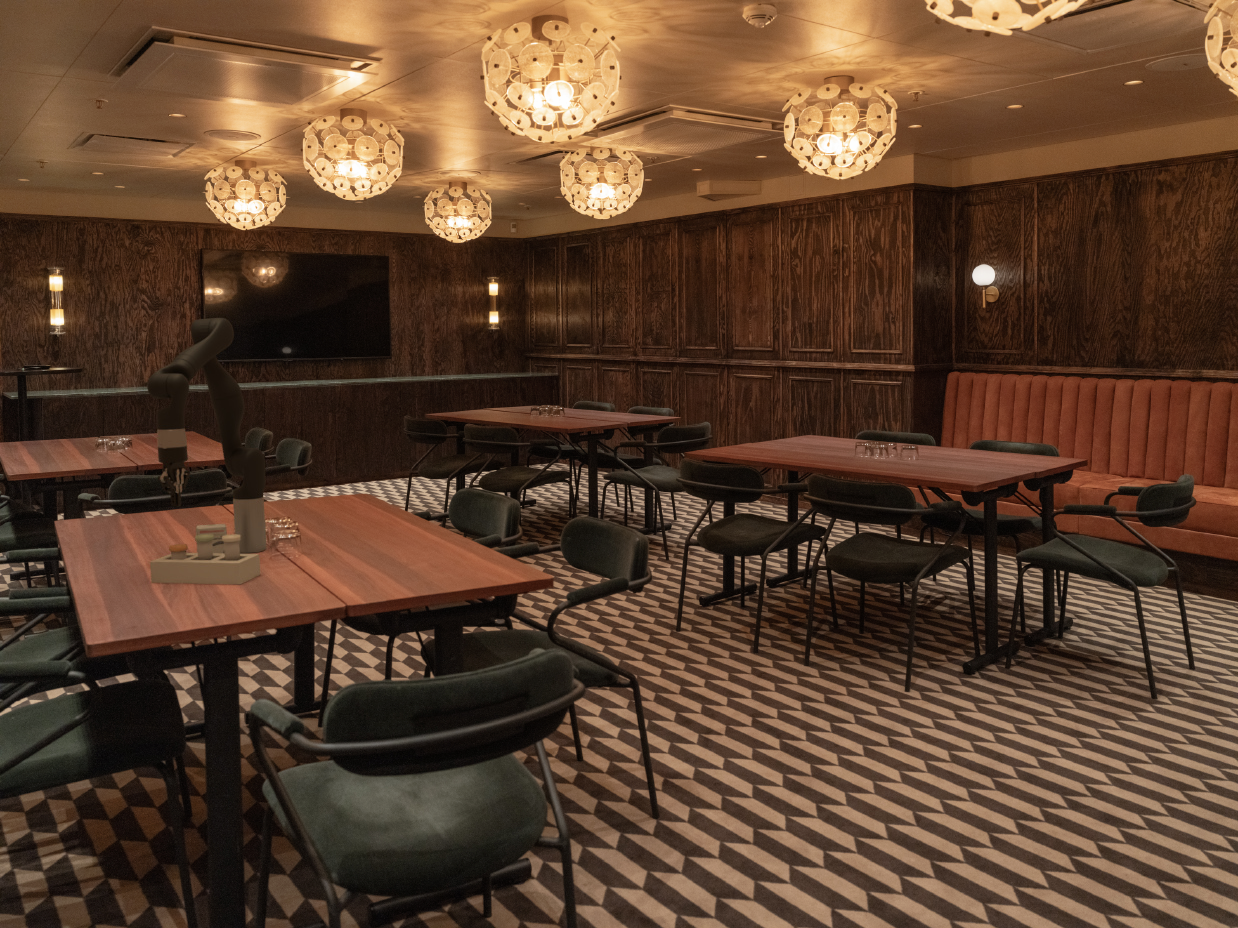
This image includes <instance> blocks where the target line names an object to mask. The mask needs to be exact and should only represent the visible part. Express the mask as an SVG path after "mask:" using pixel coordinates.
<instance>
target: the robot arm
mask: <svg viewBox="0 0 1238 928" xmlns="http://www.w3.org/2000/svg"><path fill="white" fill-rule="evenodd" d="M190 335H191V340H192V344H193V345H191V346H189V347H187V348H186V349H184V350H183V351H181V352H180V353H179V354H178V355H177V356H176V357H175V358H174V359H173V360H172V361H171V362H170V363H169V364H167V365H165V366H164V367H161V368H159V369H158V370H157V371H155V372H154V373H152V375H150V377H149V378H148V380H147V385H146V389H147V393H149V395H150V396H151V397H152V398H154V399H159V400H167V399H168V400H171V401H170V404H169V406H165V407H161V408H159V409H157V411H156V427H157V428H156V429H157V430H156V431H157V435H156V440H157V442H156V443H157V444H156V445H157V459H158V460H157V461H158V462H159V463H161V464H162V470H161V471H162V474H161V475H158V476H157V480H158V482H159V484H160V485H161V487H162V489H163V490H164V492H165V493H168V494H169V495H170V506H171V507H175V508H176V507H180V506H182V494H181V493H182V492H183V490H185V489H186V487H187V484H188V481H189V478H190V475H191V470H186V465H185V462H187V461H189V460H188V459H189V457H188V441H187V434H186V433H187V432H186V425H185V412H186V411H185V410H186V405H187V401H188V397H189V391H190V383H189V382H190V381H192V380H193V379H194V378H195V376H196V375H197V373H199V371H200V370H201V369H202V370H203V374H204V377H205V380H206V384H207V388H208V392H209V397H210V401H211V405H212V409H213V413H214V415H215V418H216V423H217V427H218V428H217V429H218V431H219V436H220V442H221V447H222V454H223V461H224V465H225V468H226V470H227V472H228V473H229V474H230V475H232V476H233V477H243V481H242V484H241V486H238V487H237V488H236V487H235V488H234V489H232V502H233V504H232V505H233V521H234V522H233V523H234V524H233V525H234V534H238V535H240V539H241V540H239V549H240V554H253V553H258V552H263V551H266V550H267V547H268V546H267V530H266V529H267V527H266V519H265V500H264V499H265V498H264V497H265V496H264V493H265V492H264V491H265V488H266V459H265V456H264V452H262V450H260V449H259V448H255V447H244V446H243V444H242V440H241V434H240V429H241V424H242V420H243V418H244V414H245V411H246V410H245V409H246V407H245V401H244V396H243V393H242V389H241V386H240V385H239V383H238V381H237V380H235V378H234V377H233V376H232V375H231V374H230V373H229V372H228V371H227V370H226V369H225V368H224V367H223V365H222V364H221V363H220V361H219V360H218V358H217V355H219V354H220V353H222V351H224V350H225V349H227V348H228V347H230V346H231V344H232V343H233V340H234V337H235V333H234V328H233V325H232V323H231V322H230V321H229V320H228V318H224V317H212V318H202V319H200V318H199V319H195V320H194V321H192V323H191V325H190Z"/></svg>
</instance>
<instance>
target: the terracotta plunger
mask: <svg viewBox="0 0 1238 928" xmlns="http://www.w3.org/2000/svg"><path fill="white" fill-rule="evenodd" d="M188 546H189V545H188V544H186V543H176V544H171V545H169V546H168V551H169V552H170V554H171V560H184V559H186V558H187V555H186V553H187V550H189V548H188Z"/></svg>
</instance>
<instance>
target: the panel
mask: <svg viewBox="0 0 1238 928" xmlns="http://www.w3.org/2000/svg"><path fill="white" fill-rule="evenodd" d="M186 555H187V558H186V559H184V560H171V553H170V554H166V555H165V556H162V557H159V558H156V559H153V560H151V561H149V565H150V582H151V584H152V583H153V584H155V583H156V584H157V583H158V584H160V583H161V584H190V585H191V584H194V585H198V584H199V585H240V586H241V585H242V584H244V583H246V582H249V581H250V580H252V579H254V578H257V577H259V576H261V562H260V561H261V560H260V553H240V560H238V561H225V554H224V553H213V559H212V560H198V553H197V552H186Z"/></svg>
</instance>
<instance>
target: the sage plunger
mask: <svg viewBox="0 0 1238 928" xmlns="http://www.w3.org/2000/svg"><path fill="white" fill-rule="evenodd" d="M213 539H214V536H213V534H201V535H196V534H195V536H194V540H195V542H196V541H197V542H196V552H197V551H198V560H212V559H213V545H212V540H213Z"/></svg>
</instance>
